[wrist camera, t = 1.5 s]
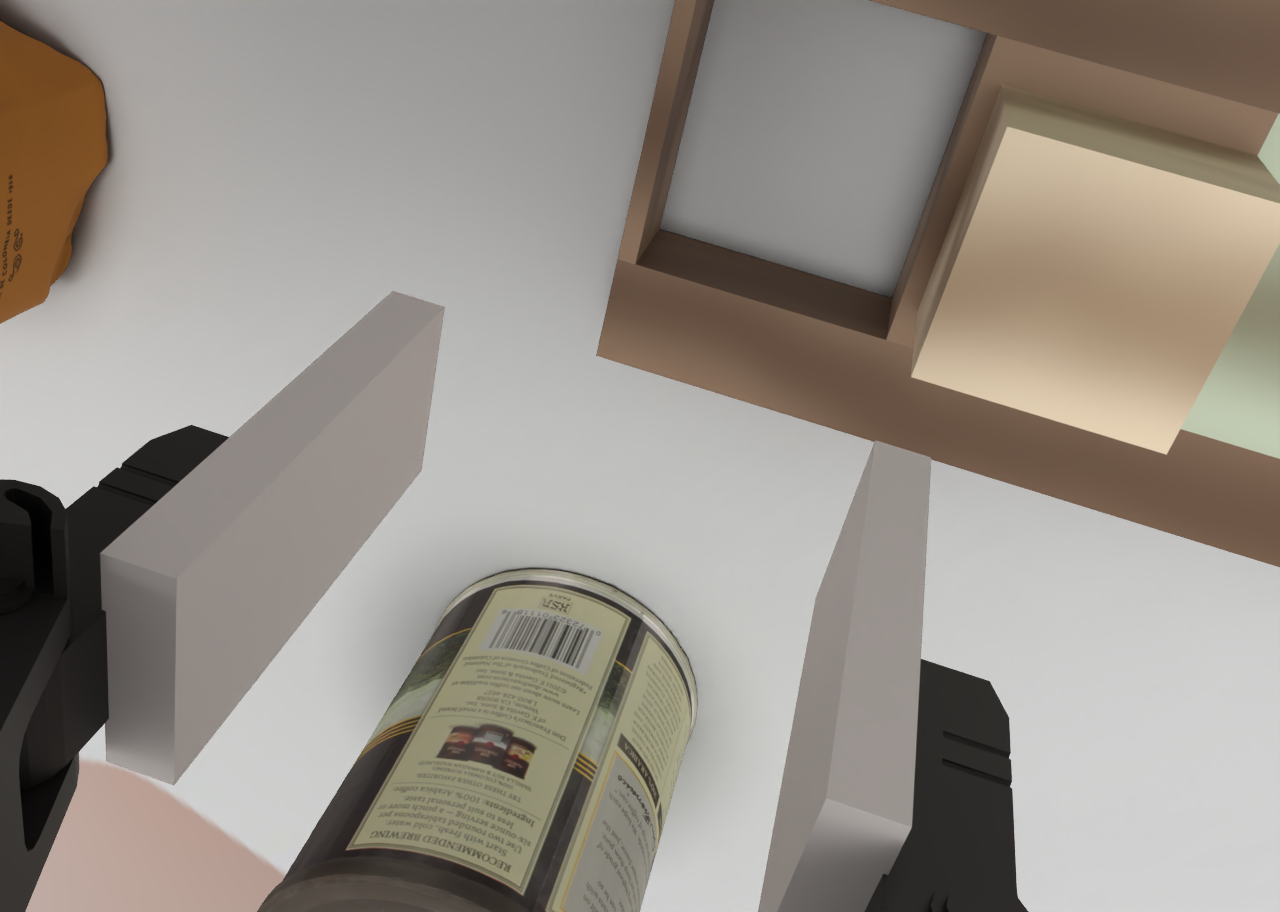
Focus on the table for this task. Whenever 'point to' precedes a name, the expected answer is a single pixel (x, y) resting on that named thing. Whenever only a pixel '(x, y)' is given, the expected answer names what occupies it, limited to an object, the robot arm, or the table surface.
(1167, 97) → the trap deck
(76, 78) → the coffee package
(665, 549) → the table surface
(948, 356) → the maple block
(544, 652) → the coffee can
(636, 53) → the table surface
